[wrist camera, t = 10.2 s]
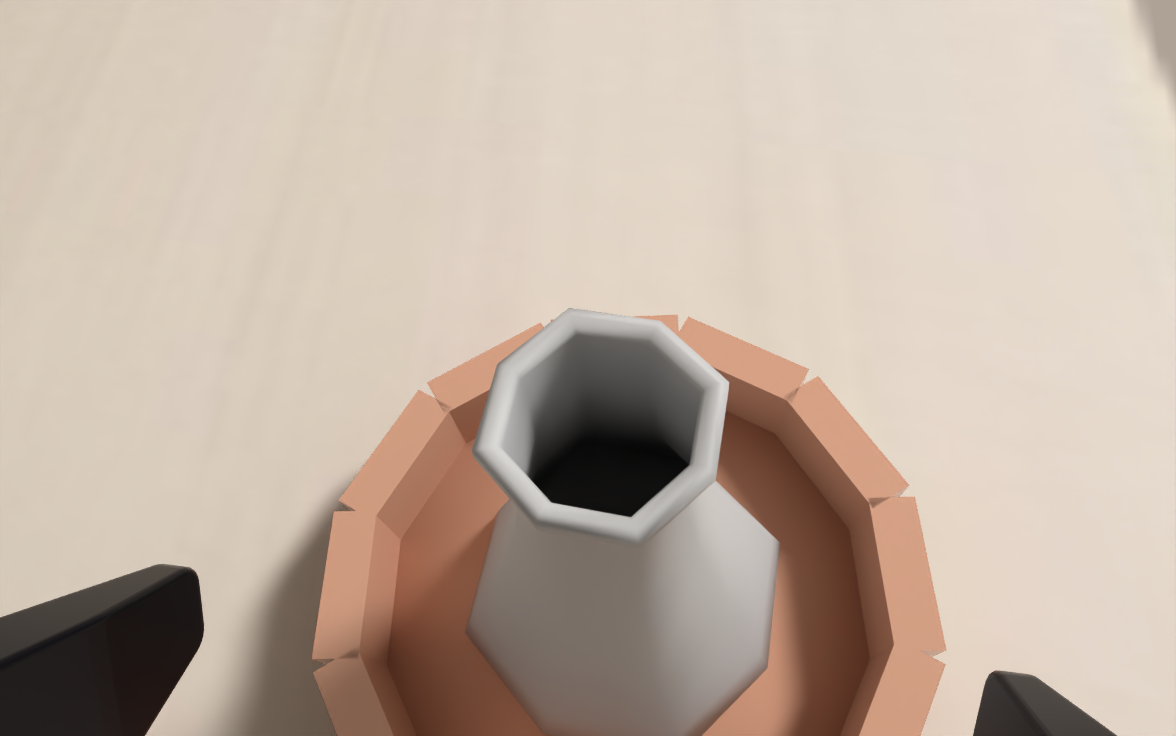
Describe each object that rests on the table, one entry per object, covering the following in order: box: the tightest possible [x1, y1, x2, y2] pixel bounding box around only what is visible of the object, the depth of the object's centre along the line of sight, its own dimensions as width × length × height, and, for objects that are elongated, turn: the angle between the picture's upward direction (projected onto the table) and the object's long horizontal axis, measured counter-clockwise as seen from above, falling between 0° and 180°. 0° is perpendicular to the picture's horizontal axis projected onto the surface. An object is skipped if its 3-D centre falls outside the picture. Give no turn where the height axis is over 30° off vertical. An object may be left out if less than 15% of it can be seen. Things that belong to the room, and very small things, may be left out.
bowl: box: [312, 315, 946, 736], centre depth 18 cm, size 13×13×3 cm
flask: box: [465, 308, 780, 736], centre depth 14 cm, size 7×7×10 cm
